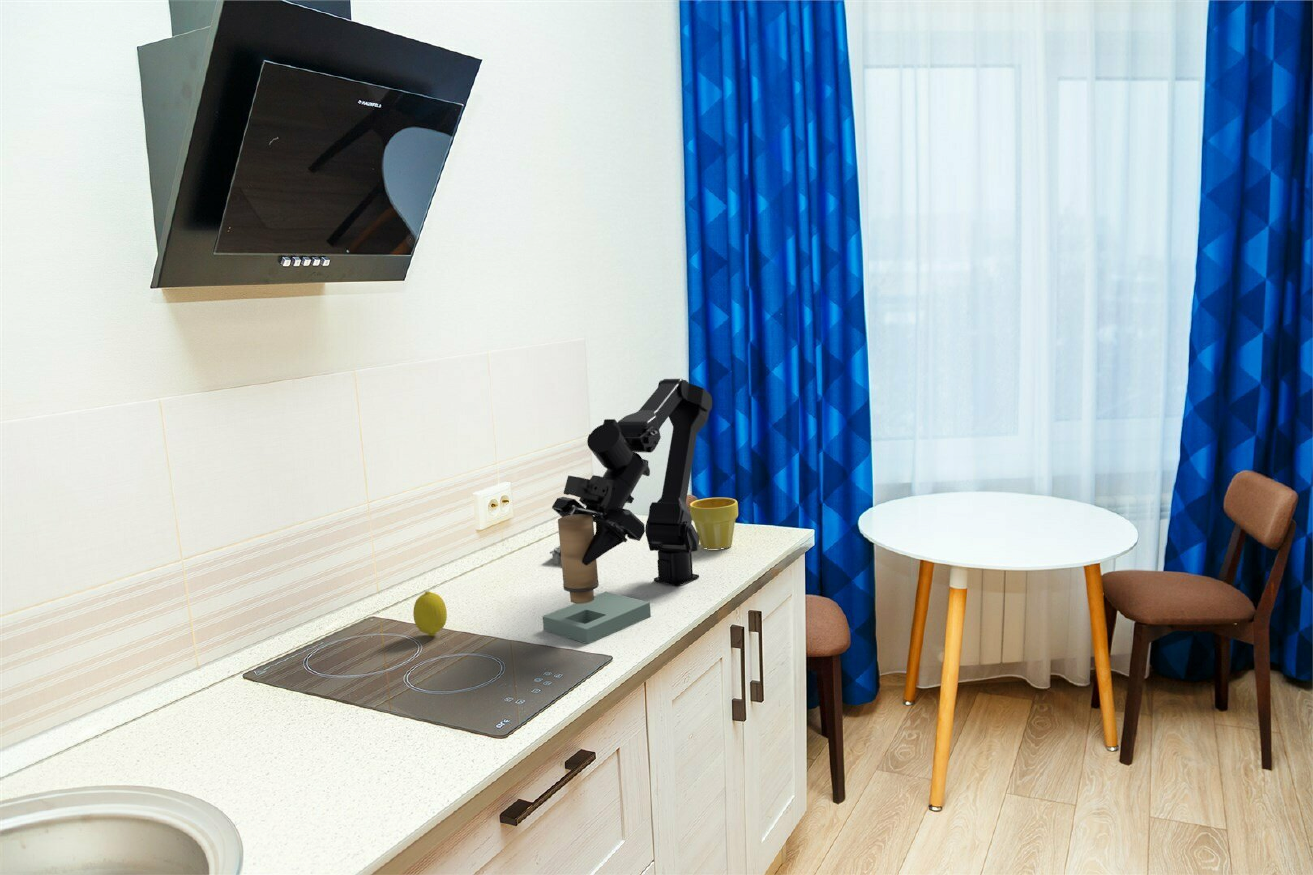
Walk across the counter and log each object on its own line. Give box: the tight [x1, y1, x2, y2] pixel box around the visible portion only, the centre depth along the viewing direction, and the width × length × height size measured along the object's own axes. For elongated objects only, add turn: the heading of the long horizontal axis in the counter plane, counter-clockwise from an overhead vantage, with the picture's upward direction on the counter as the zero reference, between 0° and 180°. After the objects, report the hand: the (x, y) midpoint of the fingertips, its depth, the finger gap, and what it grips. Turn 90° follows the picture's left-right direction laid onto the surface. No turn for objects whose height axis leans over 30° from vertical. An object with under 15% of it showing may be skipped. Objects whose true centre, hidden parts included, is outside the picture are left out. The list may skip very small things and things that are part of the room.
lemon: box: [412, 590, 448, 637], centre depth 161 cm, size 6×6×8 cm
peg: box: [557, 514, 600, 604], centre depth 157 cm, size 6×6×14 cm
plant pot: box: [689, 497, 739, 549], centre depth 203 cm, size 10×10×10 cm
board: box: [541, 591, 652, 645], centre depth 162 cm, size 15×11×2 cm
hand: (572, 560), depth 156 cm, fingers closed on peg, 6 cm apart
